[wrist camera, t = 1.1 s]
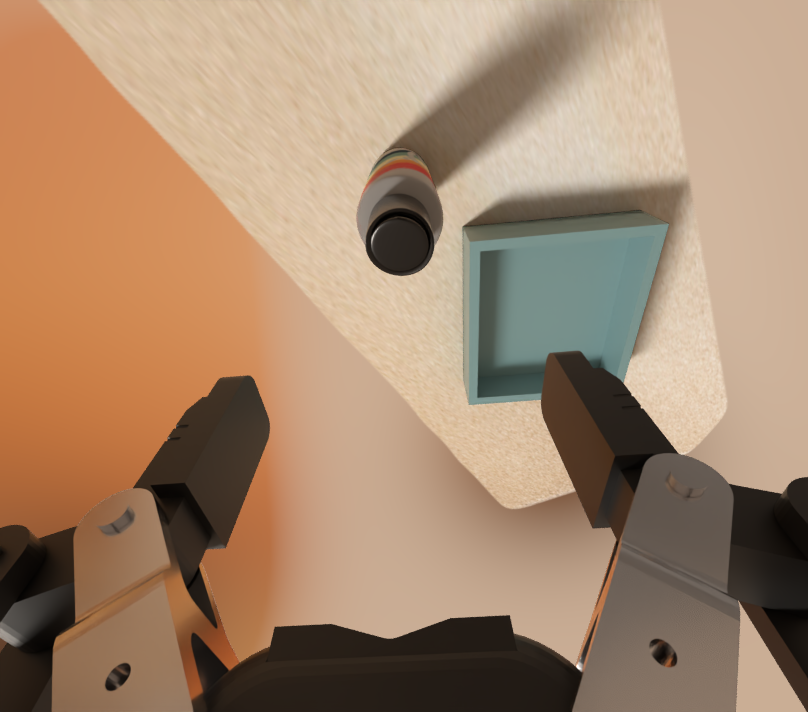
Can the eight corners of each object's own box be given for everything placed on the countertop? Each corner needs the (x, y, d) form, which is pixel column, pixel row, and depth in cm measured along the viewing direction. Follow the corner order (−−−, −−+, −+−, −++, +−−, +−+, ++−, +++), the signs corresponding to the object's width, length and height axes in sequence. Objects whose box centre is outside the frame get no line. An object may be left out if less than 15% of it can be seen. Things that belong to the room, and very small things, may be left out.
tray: (462, 226, 40) (469, 241, 36) (640, 210, 39) (669, 223, 35) (463, 379, 51) (468, 405, 47) (602, 369, 50) (620, 394, 46)
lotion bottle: (439, 161, 37) (470, 216, 20) (415, 219, 40) (426, 308, 23) (382, 136, 35) (366, 172, 19) (363, 197, 38) (334, 275, 22)
